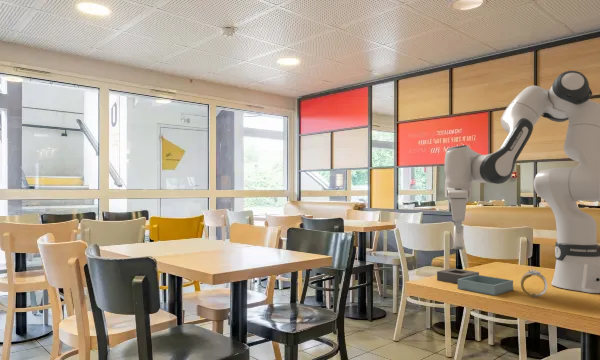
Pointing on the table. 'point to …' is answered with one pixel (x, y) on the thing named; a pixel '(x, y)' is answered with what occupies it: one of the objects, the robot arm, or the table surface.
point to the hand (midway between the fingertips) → (458, 232)
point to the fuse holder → (454, 275)
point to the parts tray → (485, 284)
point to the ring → (528, 274)
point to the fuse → (458, 239)
